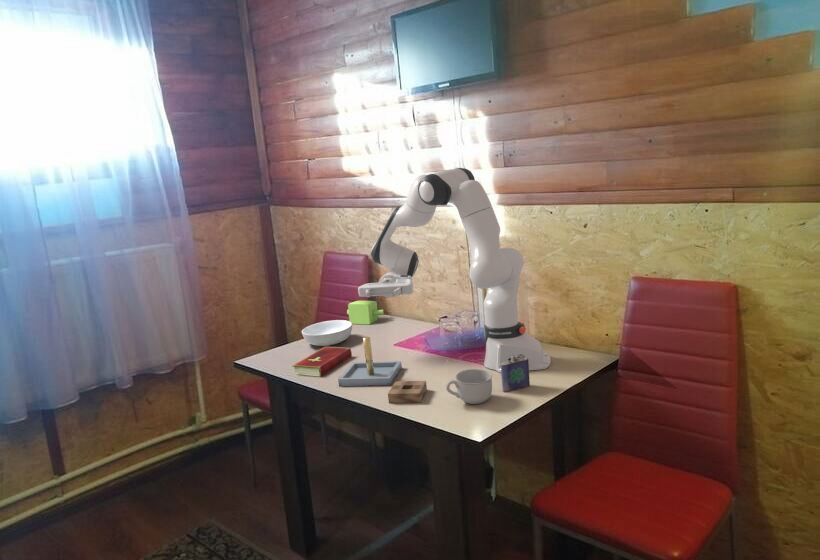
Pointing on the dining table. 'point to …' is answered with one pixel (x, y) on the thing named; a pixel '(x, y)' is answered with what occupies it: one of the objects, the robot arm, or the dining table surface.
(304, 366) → the hardcover book
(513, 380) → the flask
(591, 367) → the dining table surface
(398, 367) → the tray
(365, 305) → the gearbox
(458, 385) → the teacup
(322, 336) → the serving bowl
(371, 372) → the pin
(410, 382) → the pin block
